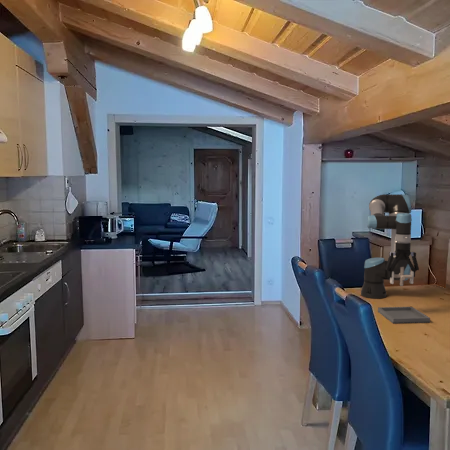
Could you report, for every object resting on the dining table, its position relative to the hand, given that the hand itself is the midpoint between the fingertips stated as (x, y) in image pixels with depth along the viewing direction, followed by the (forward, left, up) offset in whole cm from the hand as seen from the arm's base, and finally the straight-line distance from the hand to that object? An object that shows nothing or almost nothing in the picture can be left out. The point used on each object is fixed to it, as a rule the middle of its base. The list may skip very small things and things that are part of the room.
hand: (401, 283), depth 248 cm
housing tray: (+6, -2, -17) cm, 18 cm away
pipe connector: (0, 0, -1) cm, 1 cm away
